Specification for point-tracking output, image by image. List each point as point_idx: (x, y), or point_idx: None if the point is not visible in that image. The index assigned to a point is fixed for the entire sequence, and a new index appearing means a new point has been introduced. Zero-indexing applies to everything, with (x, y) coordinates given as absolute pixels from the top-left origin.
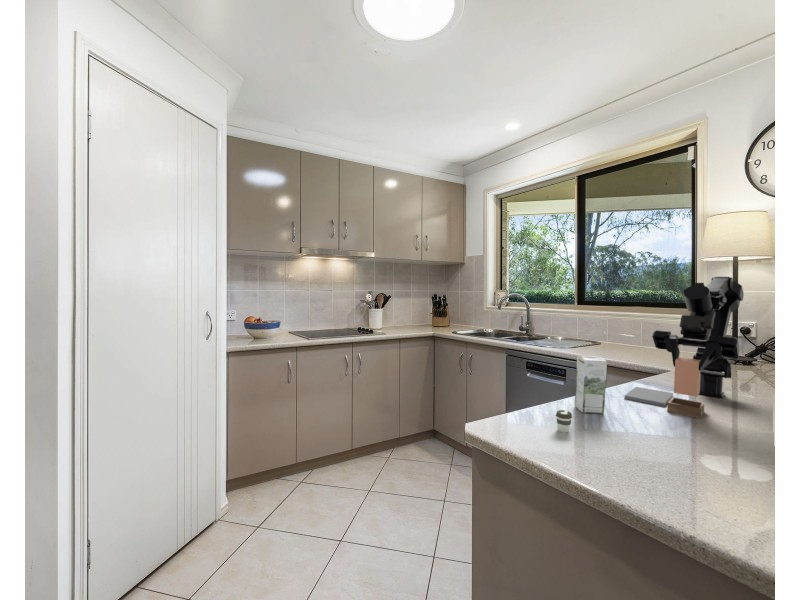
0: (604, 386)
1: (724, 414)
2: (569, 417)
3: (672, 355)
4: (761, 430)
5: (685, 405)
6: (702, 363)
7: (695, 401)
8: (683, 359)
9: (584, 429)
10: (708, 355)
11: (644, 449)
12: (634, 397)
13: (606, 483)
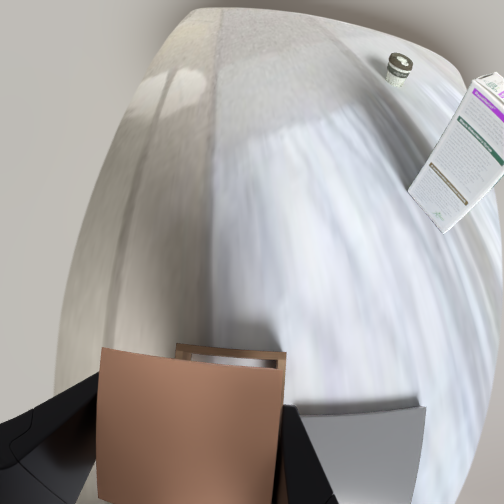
0: (439, 139)
1: None
2: (389, 57)
3: (320, 472)
4: (63, 331)
5: None
6: (83, 382)
7: None
8: (217, 451)
9: (379, 95)
10: (14, 418)
11: (279, 73)
12: (397, 410)
13: (288, 17)
